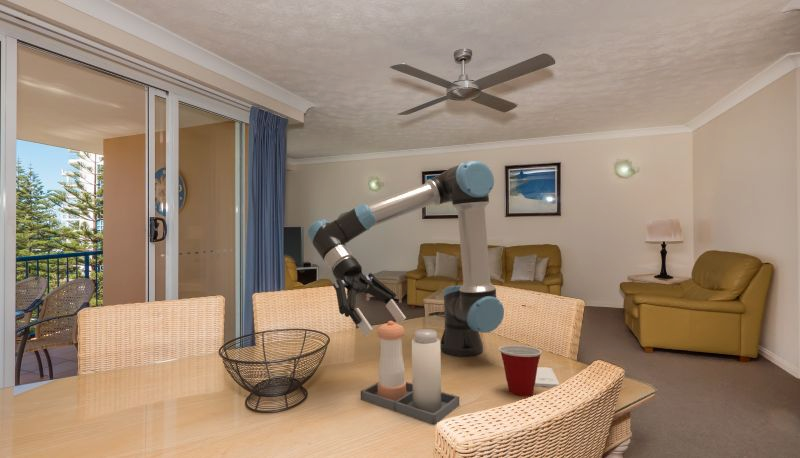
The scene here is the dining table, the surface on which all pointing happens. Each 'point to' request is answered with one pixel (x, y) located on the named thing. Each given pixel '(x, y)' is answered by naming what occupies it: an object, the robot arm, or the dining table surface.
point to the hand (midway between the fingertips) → (386, 326)
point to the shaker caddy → (411, 404)
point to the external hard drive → (545, 378)
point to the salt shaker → (426, 370)
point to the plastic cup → (520, 368)
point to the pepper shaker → (391, 362)
